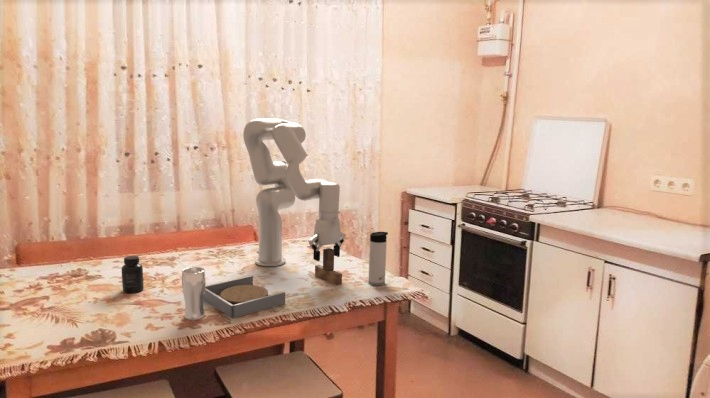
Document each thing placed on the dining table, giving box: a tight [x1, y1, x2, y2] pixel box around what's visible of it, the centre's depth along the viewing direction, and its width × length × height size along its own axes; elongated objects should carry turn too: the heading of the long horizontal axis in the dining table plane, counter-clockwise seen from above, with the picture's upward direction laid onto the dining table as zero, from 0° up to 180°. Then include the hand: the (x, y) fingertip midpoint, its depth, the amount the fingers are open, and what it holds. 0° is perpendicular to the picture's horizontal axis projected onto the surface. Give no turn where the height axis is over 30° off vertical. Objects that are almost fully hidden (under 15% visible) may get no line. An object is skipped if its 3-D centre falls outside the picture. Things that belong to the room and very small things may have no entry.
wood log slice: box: [219, 284, 269, 305], centre depth 174 cm, size 16×16×3 cm
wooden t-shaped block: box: [314, 247, 343, 286], centre depth 197 cm, size 14×3×12 cm, turn 42°
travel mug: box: [367, 231, 389, 287], centre depth 194 cm, size 6×7×20 cm
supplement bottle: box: [121, 255, 145, 294], centre depth 180 cm, size 7×7×12 cm
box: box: [203, 275, 286, 319], centre depth 174 cm, size 22×20×4 cm
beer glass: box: [181, 266, 206, 321], centre depth 159 cm, size 7×7×15 cm
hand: (326, 258), depth 198 cm, fingers open, 9 cm apart
